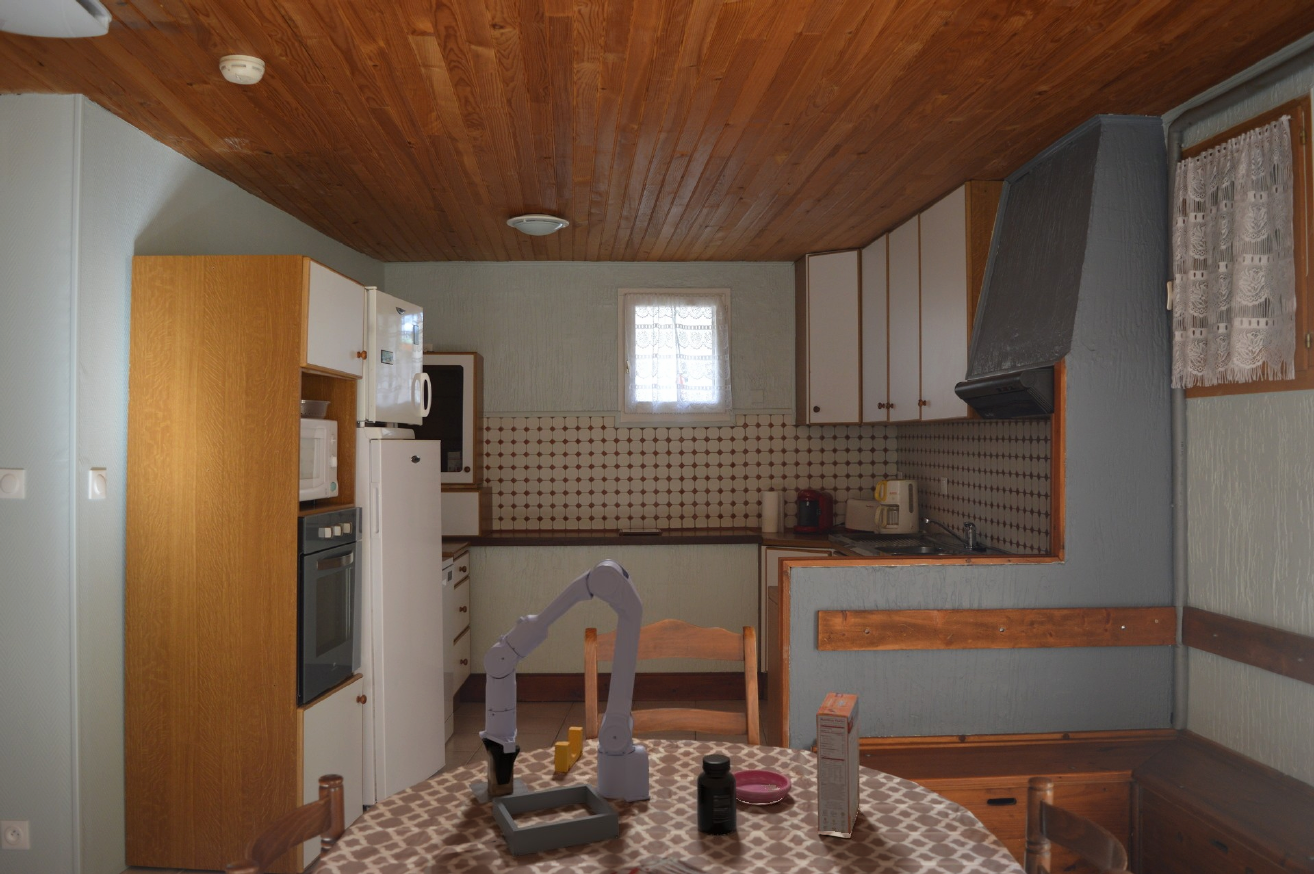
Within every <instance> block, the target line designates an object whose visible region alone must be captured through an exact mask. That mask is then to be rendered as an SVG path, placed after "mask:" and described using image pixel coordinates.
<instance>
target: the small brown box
mask: <svg viewBox="0 0 1314 874" xmlns="http://www.w3.org/2000/svg"><path fill="white" fill-rule="evenodd" d="M486 754H487V756H486V757H487V758H486V759H487V763H486V765H487V766H486V767H487V769H486V770H487V771H486V773H487V774H486V776H487V782H488V789H489V791H490V792H491V794H492V795H496V794H503V793H509V792H513V783H514V778H515V777H514V773H515V772H514V771H515V770H514V765H515V764H514V765H513V769H512V774H511V778H510V782H509V784H503V785H498V783H497V779H496V773H495V765H494V761H493V758H492V755H491V753H490V751H489V750H488V753H487V752H486Z"/></svg>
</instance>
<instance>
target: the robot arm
mask: <svg viewBox="0 0 1314 874" xmlns="http://www.w3.org/2000/svg"><path fill="white" fill-rule="evenodd" d="M594 597H597V598H598V599H599V600H601V601H603V602H605V603H606V604H608V605H609V607H610V608H611V609H612V610H613V611H614V612H615V613H616V614H617V617H618V618H617V626H616V632H615V633H616V634H615V642H614V651H613V658H612V665H611V666H612V667H611V675H610V682H609V691H608V698H607V705H606V711H605V712H604V714H603V715H602V719H601V725H600V729H599V730H598V732H597V733H598V734H597V739H598V740H597V741H598V744H597V753H596V755H597V756H596V757H597V759H596V760H597V761H596V762H597V763H596V765H597V767H596V770H597V771H596V772H597V774H596V776H597V778H596V790H597V791H598V792H599V793H600V794H601V796H602V797H603V798H605V799H606V798H607V799H615V800H616V799H624V801H626V803H630V802H637V801H643V800H649V799H651V794H650V761H649V755H648V751H647V749H646V747H645V746H644V745H642V744H638V745H636V743H635V742H634V741H633V729H634V727H635V718H634V716H633V713H632V704H633V703H632V701H633V695H634V694H633V693H634V686H635V677H636V668H637V661H638V653H639V644H640V637H641V630H642V629H641V627H642V622H643V621H642V620H643V613H644V612H643V610H644V603H643V600H642V599H641V597H640V594H639V593H638V591H637V588H636V586H635V584H634V583H633V581H632V578H631V576H630V573H629V572H628V571H627V569H626V568H625V567H623V566H622V565H621V564H620V563H619V562H618V561H616V560H614V559H610V558H609V559H602V560H600V561H599V562H597V564H596V565H594V567H593V569H592V568H589V569H588V570H586V571H585V572H583V573H582V574H581V575H579V576H577V578H575V579H574V580H573V581H572V582H570V583H569V585H567V586H566V587H565V588H564V589H563V590H562V591H561V592H560V593H559V594H558V595H557V596H556V597H555V598H554V599H553V600H552V601H551V602H550V603H549V604H548V605H546V607H544V608H543V610H542V611H541V612H540V613H538V614H526V616H524V617H523V616H520V617H519V618H517V620H516V621H515V623H516V625H515V626H514V627H513V628H511V630H509V631H508V632H507V633H506V634H505V635H504V634H501V635H500V636H499V637H497V641H498V642H496V643H494V644H493V646H492V647H490V648H489V649H488V651H487V652H486V653H485V655H484V657H483V667H484V670H485V672H486V683H485V730H483V731H482V730H481V731H479V732H478V733H479V734H478V736H479V737H480V739H481V742H482V743H483V744H484V745H483V746H484V748H485V751H486V754H487V753H488V750H489V751H490V753H491V755H492V758H493V761H494V765H495V773H496V779H497V783H498V785H503V784H509V782H510V778H511V774H512V769H513V765H515V761H516V759H517V757H518V755H519V753H520V751H521V747H520V746H519V744H517V745H516V739H517V736H518V729H517V681H516V680H517V679H516V678H517V677H516V669H517V668H516V666H517V665H518V663H519V661H522V660H524V659H526V658H527V657H528V656H529V655H530V654H531V653H532V652H533V651H534V650H535V649H536V648H537V647H539V646H540V645H541V644H542V643H543V642H544V641H546V639H547V638H548V636H549V627H550V626H552V625H553V624H554V623H555V622H556V621H557V620H559V619H560V618H561V617H562V616H563V615H564V614H565V613H567V612H568V611H569V610H570V609H572V607H574V606H575V605H576V604H577V603H578V602H584V601H590V600H593V598H594Z"/></svg>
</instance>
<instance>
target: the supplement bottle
mask: <svg viewBox="0 0 1314 874" xmlns="http://www.w3.org/2000/svg"><path fill="white" fill-rule="evenodd" d="M701 767H702V769H701V770H702V772H700V773H699V774H698V776H697V779H696V803H697V804H696V808H697V809H696V811H697V812H696V815H697V819H696V820H697V822H696V823H697V828H698V829H699V831H701V832H702V833H704V834H706V833H707V835H710V834H712V835H711V836H725V835H724V834H726V835H729V834H732V833H733V832H735V830H736V829H737V823H738V822H737V817H738V816H737V812H738V811H737V807H738V806H737V799H736V778H735V776H734V775H733V774H732V773H733V772H731V768H732V767H731V758H730V756H728V755H725V754H721V753H720V754H719V753H713V754H707V755H704V756H703V757H702V766H701ZM732 831H733V832H732ZM731 832H732V833H731ZM728 833H729V834H728Z"/></svg>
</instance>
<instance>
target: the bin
mask: <svg viewBox="0 0 1314 874" xmlns="http://www.w3.org/2000/svg"><path fill="white" fill-rule="evenodd" d="M579 804H587V805H588V807H589V808H591V810H592V811H593V812H594V813H595V814H594V815H588V816H582V817H576V818H570V819H563V820H558V821H552V822H546V823H540V824H534V825H528V826H522V827H518V824H517V823H516V822H515V820H514V819H513V818H512V815H517V814H523V813H524V814H525V813H528V812H529V813H530V812H536V811H542V810H549V809H554V808H555V809H556V808H560V807H561V808H562V807H566V806H573V805H579ZM492 816H493V817H492V818H493V819H494V821H496V823H497V825H498V827H499V828H500V830H501V832H502V833H503V835H501V837H502V839H503V841H504V843H505V844H506V847H508V849H509V852H510V853H511V855H512V856H513V857H518V856H519V857H520V856H525V855H529V854H534V853H541V852H546V851H552V850H558V849H563V848H569V847H573V846H580V845H585V844H591V843H596V842H601V841H607V840H613V839H617V838H618V839H619V837H620V834H619V833H620V832H619V827H620V826H619V825H620V822H619V819H620V818H619V817H620V816H619V812H618V811H617V810H616V809H615V808H614V807H613V806H612V804H610V802H608V800H607V799H606V798H605V797H603V796H601V794H600V793H599V792H598V791H597V788H595V787H594V786H593V785H592V784H591V783H590V782H588V783H583V784H580V783H579V784H573V785H568V786H562V787H555V788H549V789H544V790H543V789H542V790H536V791H530V792H528V793H521V794H515V795H508V796H501V797H495V798H493V802H492Z"/></svg>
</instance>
